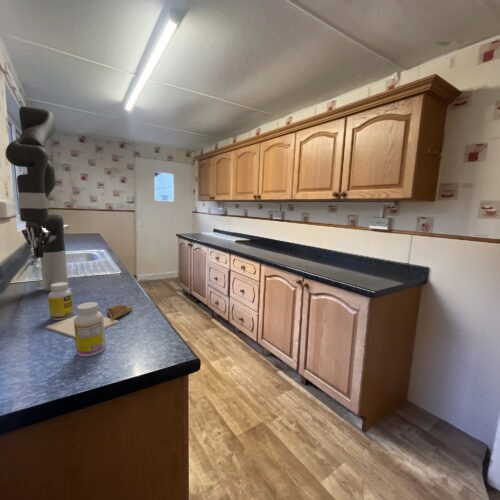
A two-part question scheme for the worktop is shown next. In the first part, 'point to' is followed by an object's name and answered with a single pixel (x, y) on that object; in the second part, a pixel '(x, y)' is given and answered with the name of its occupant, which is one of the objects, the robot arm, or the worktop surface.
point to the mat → (68, 325)
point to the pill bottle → (60, 301)
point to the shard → (118, 310)
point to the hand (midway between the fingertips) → (39, 257)
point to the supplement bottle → (89, 330)
